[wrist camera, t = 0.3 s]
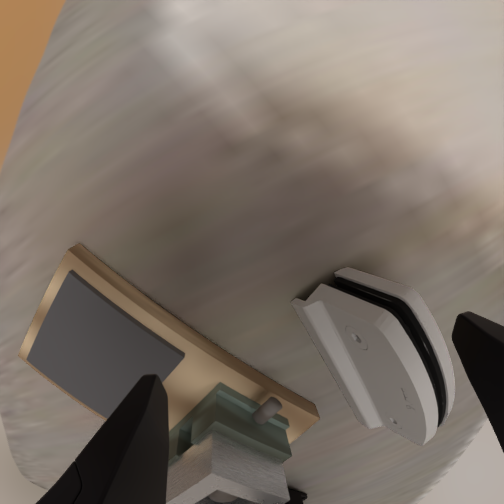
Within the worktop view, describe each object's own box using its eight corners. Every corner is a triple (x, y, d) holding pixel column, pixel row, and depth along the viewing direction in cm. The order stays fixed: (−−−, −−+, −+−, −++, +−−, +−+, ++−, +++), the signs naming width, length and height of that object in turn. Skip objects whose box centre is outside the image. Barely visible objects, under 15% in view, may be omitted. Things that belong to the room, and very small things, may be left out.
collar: (230, 494, 22) (232, 530, 18) (165, 468, 20) (159, 507, 16) (281, 460, 21) (290, 499, 17) (212, 428, 19) (211, 473, 15)
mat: (123, 423, 23) (122, 427, 23) (29, 356, 21) (26, 359, 21) (185, 353, 22) (184, 357, 21) (72, 269, 20) (68, 271, 19)
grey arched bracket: (287, 297, 24) (382, 333, 15) (332, 262, 25) (433, 277, 16) (359, 423, 28) (429, 470, 19) (391, 392, 29) (463, 429, 20)
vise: (233, 469, 28) (238, 538, 20) (28, 345, 23) (-23, 400, 14) (318, 401, 27) (347, 474, 18) (82, 237, 21) (15, 275, 13)
